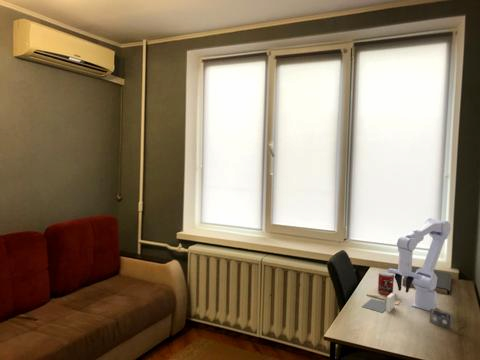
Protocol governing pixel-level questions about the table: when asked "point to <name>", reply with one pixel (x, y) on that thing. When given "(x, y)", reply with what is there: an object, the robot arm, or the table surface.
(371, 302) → the mat
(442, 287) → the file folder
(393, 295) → the tile
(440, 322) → the mini dv tape
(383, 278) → the canned food
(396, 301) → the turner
